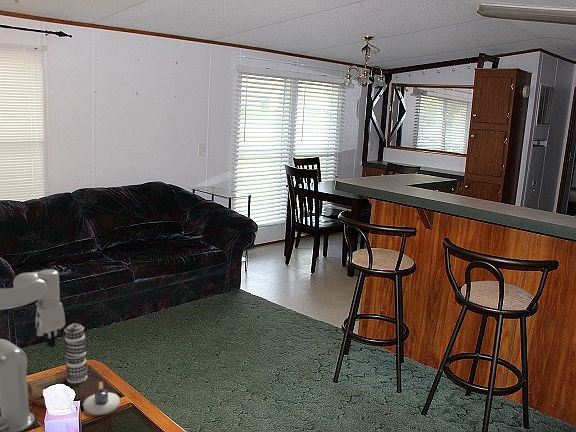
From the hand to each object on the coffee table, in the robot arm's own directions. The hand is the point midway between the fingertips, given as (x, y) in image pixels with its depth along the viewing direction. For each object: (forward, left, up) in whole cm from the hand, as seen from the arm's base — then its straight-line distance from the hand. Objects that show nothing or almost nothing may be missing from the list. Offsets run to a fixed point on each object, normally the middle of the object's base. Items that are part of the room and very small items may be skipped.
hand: (50, 345), depth 214 cm
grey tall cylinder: (+20, +7, -27) cm, 34 cm away
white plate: (+8, -16, -27) cm, 32 cm away
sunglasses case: (+1, +9, -27) cm, 29 cm away
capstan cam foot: (+10, -15, -25) cm, 31 cm away
